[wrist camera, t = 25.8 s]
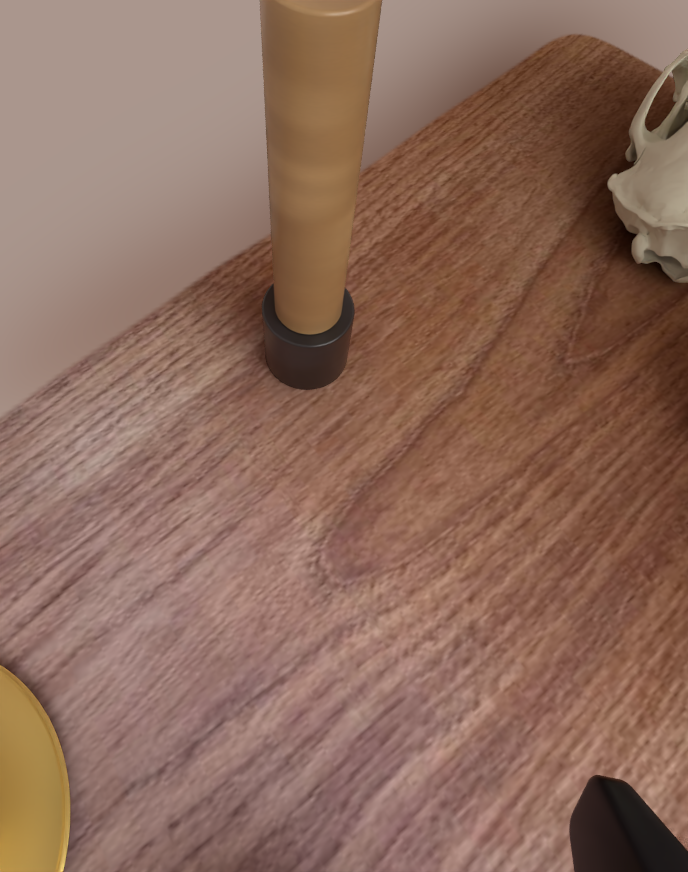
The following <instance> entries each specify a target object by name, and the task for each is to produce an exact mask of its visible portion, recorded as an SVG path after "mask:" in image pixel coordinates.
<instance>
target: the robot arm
mask: <svg viewBox="0 0 688 872" xmlns="http://www.w3.org/2000/svg"><path fill="white" fill-rule="evenodd" d="M570 842H571V849H572V856H573V864H574V871H575V872H688V851H687V850H686V849H685V848H684V846H683V845H682V844H681V843H680V842H679V841H678V840H677V838H676V837H675V836H674V835H673V834H672V833H671V831H670V830H669V829H668V828H667V827H666V826H665V825H664V823H663V822H662V821H661V820H660V819H659V818H658V817H657V815H656V814H655V813H654V812H653V811H652V810H651V809H650V807H649V806H648V805H647V804H646V803H645V802H644V801H643V799H642V798H641V797H640V796H639V795H638V794H637V793H636V791H635V790H634V789H633V788H632V787H631V786H630V785H629V784H628V783H626V782H625V781H623V780H620V779H615V778H610V777H606V776H601V775H595V776H593V777H591V778H590V779H589V781H588V783H587V785H586V787H585V789H584V791H583V793H582V795H581V797H580V799H579V801H578V803H577V805H576V807H575V809H574V811H573V813H572V816H571V820H570Z"/></svg>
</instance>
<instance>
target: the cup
mask: <svg viewBox="0 0 688 872" xmlns="http://www.w3.org/2000/svg"><path fill="white" fill-rule="evenodd" d="M69 830H70V791H69V781H68V775H67V769H66V764H65V760H64V756H63V752H62V749H61V745H60V742H59V740H58V737H57V734H56V732H55V730H54V727H53V725H52V723H51V721H50V719H49V717H48V715H47V714H46V712H45V710H44V709H43V707H42V706H41V704H40V703H39V701H38V700H37V699H36V697H35V696H34V695H33V693H32V692H31V691H30V690H29V689H28V688H27V687H26V686H25V685H24V684H23V683H22V682H21V681H20V680H19V679H18V678H17V677H16V676H15V675H14V674H12V673H11V672H10V671H8V670H7V669H6V668H4V667H3V666H1V665H0V872H63V870H64V865H65V860H66V855H67V848H68V840H69Z"/></svg>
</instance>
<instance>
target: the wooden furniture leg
mask: <svg viewBox="0 0 688 872" xmlns="http://www.w3.org/2000/svg"><path fill="white" fill-rule="evenodd" d="M381 5H382V0H260V15H261V36H262V56H263V75H264V76H263V77H264V97H265V117H266V138H267V158H268V178H269V198H270V219H271V240H272V260H273V280H274V283H273V284H272V285H271V286H270V288H269V289H268V290H267V292H266V294H265V296H264V299H263V302H262V317H263V329H264V341H265V353H266V360H267V364H268V366H269V368H270V370H271V372H272V373H273V374H274V375H275V376H276V377H277V378H278V379H279V380H280V381H281V382H283V383H285V384H286V385H289V386H291V387H294V388H298V389H306V390H308V389H317V388H321V387H324V386H326V385H328V384H330V383H331V382H333V381H334V380H335V379H337V378H338V377H339V375H340V374H341V373H342V371H343V370H344V368H345V365H346V361H347V356H348V350H349V344H350V337H351V331H352V325H353V319H354V303H353V300H352V298H351V296H350V294H349V292H348V291H347V289H346V288H345V283H346V275H347V267H348V259H349V252H350V244H351V236H352V229H353V221H354V213H355V205H356V198H357V190H358V182H359V175H360V167H361V159H362V151H363V144H364V136H365V128H366V121H367V113H368V105H369V97H370V90H371V82H372V73H373V66H374V59H375V51H376V43H377V36H378V28H379V20H380V13H381Z"/></svg>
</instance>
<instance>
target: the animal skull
mask: <svg viewBox="0 0 688 872" xmlns="http://www.w3.org/2000/svg"><path fill="white" fill-rule="evenodd" d="M671 71H672V73H673V78H674V81H675V92H674V95H673V101H674V102H676V104H675V105H674V106H673V108H672V110H671V112H670V113H669V115H668V116H667V117H666V118H665V120H664V121H663V122H662V124H661V125H660V126H659V127H658V128H656V129H654V130H653V131H651V132H649V131H648V130H647V129H646V127H645V118H646V115H647V113H648V110H649V108H650V105H651V103H652V101H653V99H654V97H655V95H656V94H657V92H658V90H659V89H660V87H661V85H662V84H663V82H664V81H665V79H666V78H667V76H668V74H669V73H670V72H671ZM629 136H630V139H631V144H630V146H629V148H628V149H627V151H626V159H627V161H629V162H632V161H635V160H636V159H637V160H636V162H635V163H634V165H635V166H633V167H632V168H630V169H629V170H626V171H624V172H622V173H620V174H618V175H617V174H613V175H612V176H611V177H610V178H609V180H608V183H607V186H608V188H609V190H610V191H612V194H613V202H614V205H615V211H616V213H617V215H618V216H619V218H620V219H621V220H622V221H623V223H624V225H625V227H626V229H627V231H629V232H631V233H634V234H638V235H637V236H636V237H635V238H634V239H633V241H632V255H633V258H634V260H635V261H636V263H638V264H639V263H644V264H648V263H651V262H658V263H660V264H661V266H662V271H664V272H665V273H666V274H667V275H668V276H669V277H670V278H671V279H672V280H673V281H674V282H680V283H687V282H688V49H687V50H685V51H683V52H682V53H681V54H680V55H679V56H678V57H677V58H676V60H675V61H674V62H672V63H671V64H670V65H668V66H667V67H666V68H665V69H664V72H663V73H662V74H661V76H660V77H659V78H658V79H657V80H656V82H655V83H654V84H653V86H652V87H651V89H650V91H649V92H648V94H647V95H646V97H645V99H644V101H643V102H642V104H641V106H640V108H639V110H638V111H637V113H636V115H635V117H634V118H633V121H632V124H631V127H630V129H629Z"/></svg>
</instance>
